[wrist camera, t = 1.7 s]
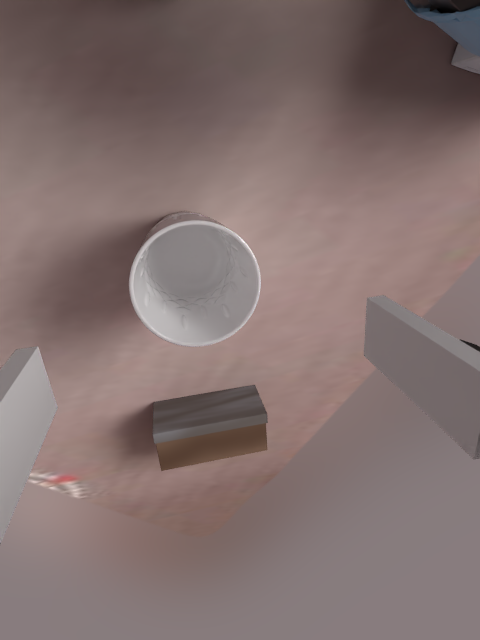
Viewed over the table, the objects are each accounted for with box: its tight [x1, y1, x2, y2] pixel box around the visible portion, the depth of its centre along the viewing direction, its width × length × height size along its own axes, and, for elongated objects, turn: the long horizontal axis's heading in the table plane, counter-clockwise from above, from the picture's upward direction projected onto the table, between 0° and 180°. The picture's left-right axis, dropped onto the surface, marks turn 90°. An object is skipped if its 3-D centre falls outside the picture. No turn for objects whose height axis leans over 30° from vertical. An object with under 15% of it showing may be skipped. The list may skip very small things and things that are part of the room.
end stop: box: [153, 385, 268, 471], centre depth 36 cm, size 5×10×5 cm, turn 95°
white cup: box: [129, 211, 261, 347], centre depth 27 cm, size 8×8×10 cm
